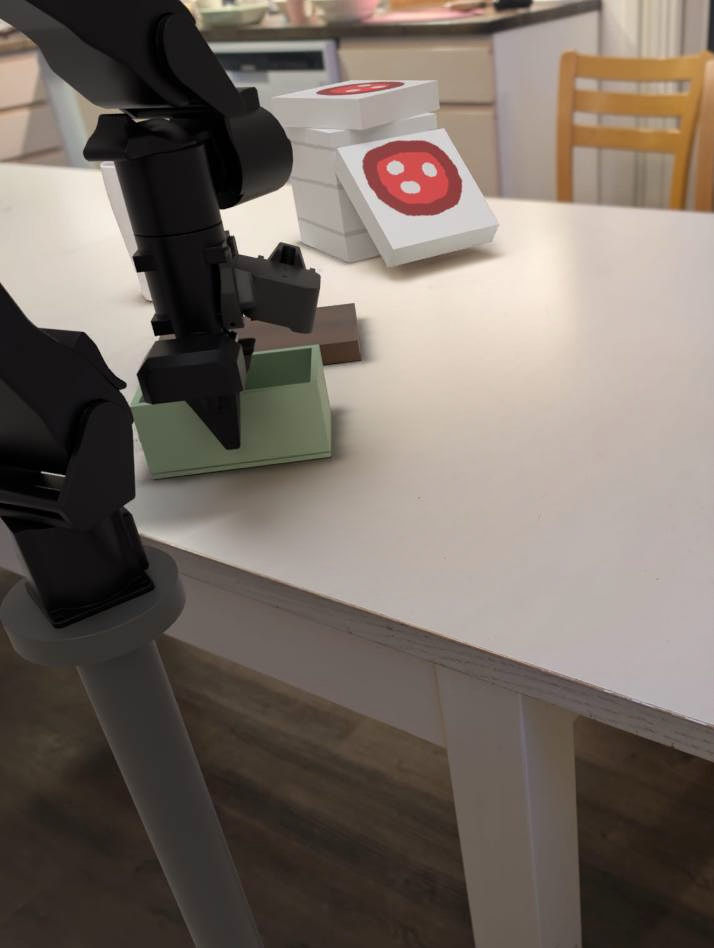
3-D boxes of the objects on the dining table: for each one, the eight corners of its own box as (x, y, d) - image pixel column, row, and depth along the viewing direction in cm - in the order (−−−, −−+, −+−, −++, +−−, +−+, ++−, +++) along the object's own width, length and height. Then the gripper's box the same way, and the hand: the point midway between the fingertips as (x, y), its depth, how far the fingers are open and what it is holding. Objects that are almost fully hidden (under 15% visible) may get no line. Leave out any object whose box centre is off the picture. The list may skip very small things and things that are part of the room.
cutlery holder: (331, 457, 74) (317, 383, 70) (152, 479, 73) (129, 406, 69) (331, 412, 81) (319, 344, 77) (168, 432, 80) (148, 364, 76)
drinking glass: (171, 285, 117) (135, 153, 109) (206, 291, 114) (172, 155, 105) (126, 301, 113) (86, 165, 104) (162, 308, 110) (123, 167, 101)
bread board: (361, 360, 91) (358, 339, 89) (153, 386, 89) (146, 365, 88) (357, 321, 100) (354, 302, 99) (169, 344, 99) (164, 325, 98)
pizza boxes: (383, 287, 110) (360, 113, 99) (283, 242, 131) (254, 94, 120) (517, 252, 117) (509, 87, 107) (402, 215, 138) (385, 74, 127)
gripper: (297, 245, 54) (341, 489, 63) (305, 187, 69) (340, 390, 78) (101, 267, 53) (175, 511, 62) (152, 204, 68) (206, 407, 77)
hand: (233, 448), depth 70 cm, fingers closed
